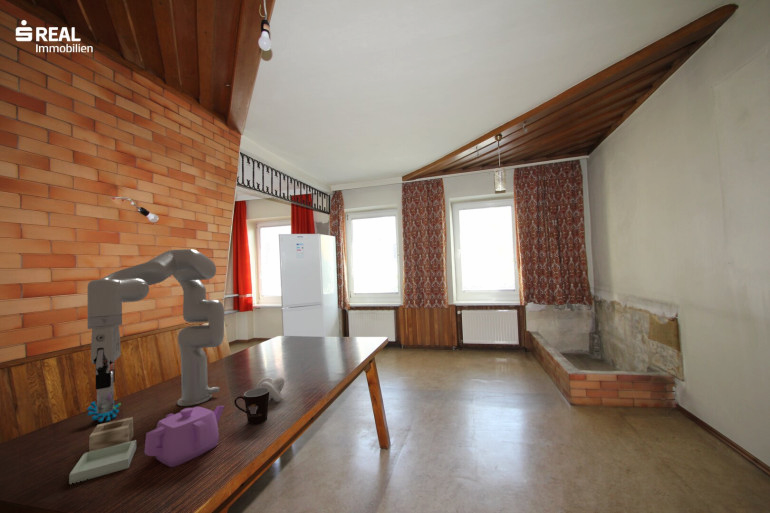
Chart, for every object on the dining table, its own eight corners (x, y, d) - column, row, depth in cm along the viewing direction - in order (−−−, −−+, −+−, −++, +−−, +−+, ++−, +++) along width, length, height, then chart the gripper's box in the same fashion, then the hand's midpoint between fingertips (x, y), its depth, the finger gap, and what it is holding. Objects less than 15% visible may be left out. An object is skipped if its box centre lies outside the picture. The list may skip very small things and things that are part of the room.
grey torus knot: (273, 393, 138) (272, 372, 138) (293, 397, 132) (292, 375, 133) (251, 403, 128) (250, 381, 128) (272, 408, 122) (271, 384, 123)
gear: (94, 423, 113) (84, 400, 116) (85, 434, 113) (75, 412, 117) (127, 413, 123) (117, 393, 127) (118, 424, 124) (108, 404, 127)
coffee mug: (275, 416, 114) (274, 389, 115) (256, 428, 106) (256, 398, 107) (252, 412, 119) (251, 385, 120) (232, 422, 111) (232, 394, 112)
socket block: (133, 435, 106) (133, 416, 106) (127, 447, 98) (127, 427, 98) (98, 443, 101) (97, 424, 102) (89, 457, 94) (89, 436, 94)
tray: (136, 448, 97) (136, 439, 97) (128, 468, 87) (128, 458, 87) (84, 461, 91) (84, 452, 91) (69, 484, 81) (69, 474, 81)
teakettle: (140, 474, 84) (139, 427, 85) (167, 441, 100) (167, 402, 101) (210, 461, 88) (209, 416, 89) (225, 432, 105) (224, 395, 105)
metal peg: (115, 407, 92) (114, 362, 93) (112, 411, 89) (111, 365, 90) (98, 410, 91) (98, 364, 91) (95, 414, 87) (95, 367, 88)
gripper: (115, 323, 86) (115, 391, 85) (127, 317, 100) (128, 375, 99) (77, 327, 82) (77, 398, 81) (96, 320, 97) (96, 380, 96)
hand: (105, 385), depth 90 cm, fingers closed on metal peg, 3 cm apart
